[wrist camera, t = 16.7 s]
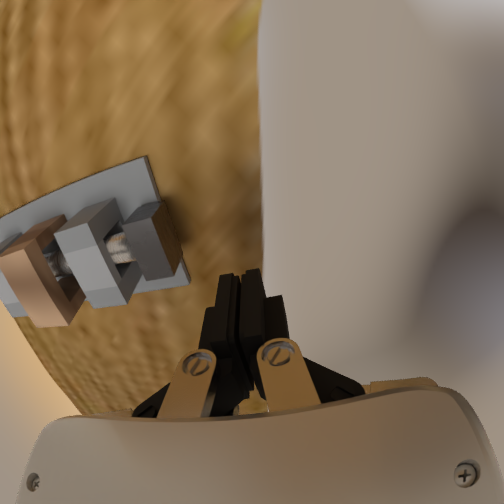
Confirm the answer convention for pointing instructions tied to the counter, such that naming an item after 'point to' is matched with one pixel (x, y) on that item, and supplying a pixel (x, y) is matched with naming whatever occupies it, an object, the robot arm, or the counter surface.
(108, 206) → the bearing block
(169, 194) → the counter surface
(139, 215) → the shaft
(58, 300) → the block
